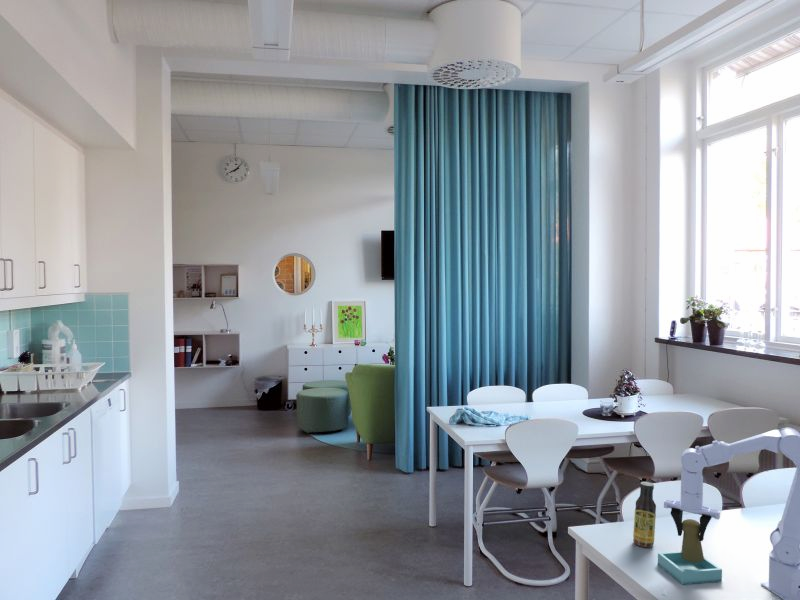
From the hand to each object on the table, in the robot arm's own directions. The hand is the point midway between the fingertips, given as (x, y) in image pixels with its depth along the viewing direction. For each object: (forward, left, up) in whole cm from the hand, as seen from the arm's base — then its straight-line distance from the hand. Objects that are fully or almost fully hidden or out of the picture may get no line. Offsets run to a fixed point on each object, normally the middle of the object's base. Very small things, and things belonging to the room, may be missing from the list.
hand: (690, 537), depth 172 cm
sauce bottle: (+19, +3, -10) cm, 21 cm away
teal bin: (0, +1, -10) cm, 10 cm away
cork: (+1, -1, -7) cm, 7 cm away
